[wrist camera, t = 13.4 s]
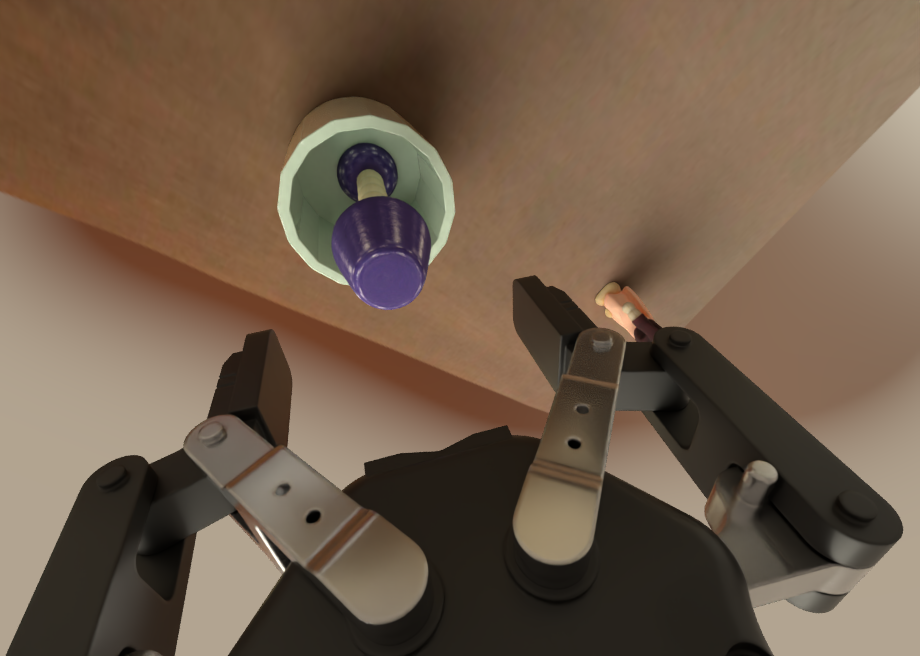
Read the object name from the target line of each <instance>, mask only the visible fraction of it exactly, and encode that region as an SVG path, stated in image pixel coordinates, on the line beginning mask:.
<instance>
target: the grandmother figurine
mask: <svg viewBox="0 0 920 656" xmlns="http://www.w3.org/2000/svg"><path fill="white" fill-rule="evenodd" d="M595 301H596V303H597V304H598V305H601V306H604V305H605V307H606V310H605V314H606V316H607V317H610V318H612V317H613V319H614V320H615V321H616V322H617V323H619V324H620V325H621V326H623V327H624V328H625V329H626V330H627V331H628V332H629V333H630V334H631V335H632V336H633V337H634V338H635V340H636V341H637V342H653V337H654V334H655V332H656V331H658V330H659V329H662V327H661V326H659V325H658V324H657V323H656V322H655V321H654V319H653V317H652V315H651V314H650V312H649V311H648V309H647V308H646V306H645V305H644V304H643V302H642V301H641V299H640V298H639V297H638V296H637V295H636V293H635V292H634V291H633V290H632V289H631V288H630V287H628V286H626V287H624V288H623V290H622V291H621V289H620V286H619V285H618V284H617V283H615V282H611V283H609V284H607V285H606V286H605V287H604V288H603V289H602V290H601V291H600V292H599V294H598V295H597V296H596V298H595Z"/></svg>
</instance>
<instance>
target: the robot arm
mask: <svg viewBox="0 0 920 656" xmlns="http://www.w3.org/2000/svg"><path fill="white" fill-rule="evenodd" d="M513 321H514V326H515V329H516V332H517V334H518V335H519V337H520V338H521V340H522V342H523V343H524V345H525V346H526V348H527V349H528V351H529V352H530V354H531V355H532V357H533V359H534V360H535V362H536V363H537V365H538V366H539V368H540V369H541V371H542V372H543V374H544V375H545V377H546V379H547V380H548V382H549V383H550V385H551V386H552V388H553V389H554V391H555V392H556V394H555V397H554V401H553V404H552V407H551V410H550V413H549V416H548V419H547V422H546V425H545V428H544V432H543V435H542V438H541V439H538V438H534V437H529V436H518V435H511V433H510V431H509V429H508V426H507V425H506V426H502V427H498V428H495V429H491V430H487V431H484V432H480V433H476V434H472V435H471V436H469V437H467V438H465V439H463V440H461V441H459V442H457V443H455V444H453V445H451V446H449V447H447V448H445V449H443V450H441V451H435V452H417V453H400V454H396V455H393V456H388V457H385V458H381V459H378V460H374V461H370V462H366V463H364V466H365V475H364V476H362V477H360V478H358V479H357V480H355V481H354V482H352V483H351V484H349V485H348V486H347V487H345V489H343V490H342V491H341V490H340V489H339V488H337V487H336V486H335V485H334V484H332V483H331V482H330V481H329V480H327V479H326V478H325V477H324V476H322V475H321V474H320V473H318V472H317V471H316V470H315V469H313V468H312V467H311V466H310V465H308V464H307V463H306V462H305V461H303V460H302V459H301V458H299V457H298V456H297V455H296V454H294V453H293V452H292V451H291V450H289V449H288V448H287V444H288V432H289V420H290V408H291V395H292V377H291V372H290V368H289V366H288V363H287V361H286V358H285V356H284V353H283V351H282V348H281V346H280V343H279V341H278V339H277V336H276V334H275V332H274V331H273V330H272V329H270V330H265V331H261V332H256V333H251V334H248V335H247V336H246V339H245V343H244V347H243V351H241V352H237V353H233V354H232V355H231V356H230V357H229V358H228V360H227V361H226V362H225V363H224V365H223V367H222V369H221V373H220V376H219V377H220V379H219V380H218V383H217V389H216V390H215V393H214V397H213V400H212V404H211V407H210V410H209V414H208V417H207V420H205V421H203V422H202V423H200V424H199V425H197V426H196V427H195V428H194V429H192V430H191V432H190V433H189V434H188V435H187V437H186V439H185V441H184V445H183V446H184V447H183V448H182V449H180V450H179V451H177V452H175V453H173V454H170V455H168V456H166V457H164V458H162V459H160V460H157V461H155V462H153V463H151V464H148V462H147V461H146V460H145V459H144V458H143V457H141V456H138V455H130V456H124V457H121V458H118V459H115V460H113V461H111V462H109V463H107V464H106V465H104V466H102V467H101V468H99V469H98V470H97V471H95V472H94V473H93V474H92V475H91V476H90V477H89V478H88V479H87V481H86V482H85V483H84V484H83V486H82V488H81V490H80V492H79V494H78V497H77V499H76V501H75V503H74V505H73V508H72V510H71V512H70V514H69V516H68V519H67V521H66V523H65V525H64V528H63V530H62V532H61V534H60V537H59V539H58V541H57V543H56V545H55V548H54V550H53V552H52V554H51V557H50V559H49V561H48V563H47V565H46V568H45V570H44V572H43V574H42V576H41V578H40V581H39V583H38V585H37V587H36V590H35V592H34V594H33V596H32V598H31V601H30V603H29V605H28V607H27V610H26V612H25V614H24V616H23V618H22V621H21V623H20V625H19V627H18V630H17V632H16V634H15V636H14V638H13V641H12V643H11V645H10V647H9V649H8V652H7V654H6V656H175V651H176V645H177V640H178V634H179V628H180V623H181V617H182V612H183V606H184V601H185V595H186V590H187V584H188V578H189V573H190V567H191V562H192V556H193V550H194V545H195V539H196V533H197V532H198V531H199V530H201V529H203V528H205V527H207V526H209V525H210V524H212V523H214V522H216V521H218V520H219V519H221V518H223V517H225V516H227V515H229V516H230V517H231V518H232V519H233V520H234V521H235V522H236V523H237V524H238V525H239V526H240V527H241V528H242V529H243V531H244V532H245V533H246V534H247V535H248V536H249V537H250V538H251V539H252V540H253V541H254V542H255V543H256V545H258V547H259V548H260V549H261V550H262V551H263V552H264V553H265V554H266V555H267V556H268V558H269V559H270V560H271V561H272V563H273V564H274V565H275V567H276V568H277V569H278V570H279V571H280V573H281V574H282V576H281V577H280V579H279V580H278V582H277V583H276V585H275V586H274V588H273V589H272V591H271V592H270V594H269V595H268V597H267V598H266V600H265V601H264V603H263V604H262V606H261V607H260V609H259V611H258V612H257V613H256V615H255V616H254V618H253V619H252V621H251V622H250V624H249V625H248V627H247V628H246V630H245V631H244V632H243V634H242V635H241V637H240V638H239V640H238V641H237V643H236V644H235V646H234V647H233V649H232V650H231V652H230V653H229V655H228V656H774V655H773V654H772V652H771V650H770V648H769V646H768V644H767V642H766V640H765V638H764V636H763V634H762V631H761V629H760V627H759V624H758V622H757V619H756V616H755V613H754V610H753V608H756V607H759V606H763V605H766V604H770V603H773V602H777V601H780V600H784V599H785V600H787V601H788V602H789V603H791V604H793V605H794V606H796V607H798V608H800V609H803V610H805V611H809V612H813V613H825V612H829V611H831V610H832V609H834V607H835V606H836V605H837V604H838V603H839V602H840V601H841V600H842V599H843V598H844V597H845V596H846V595H847V594H848V592H850V590H851V589H852V588H853V587H854V586H855V585H856V584H857V583H858V582H859V581H860V580H861V579H862V578H863V577H864V576H865V575H866V574H867V573H868V572H869V571H870V569H872V567H873V566H874V565H875V564H876V563H877V562H878V561H879V560H880V559H881V558H882V557H883V556H884V555H885V554H886V553H887V552H888V551H889V550H890V548H892V546H893V545H894V544H895V543H896V542H897V541H898V540H899V539H900V538H901V536H902V534H903V526H902V522H901V520H900V517H899V516H898V514H897V513H896V511H895V510H894V509H893V508H892V506H891V505H890V504H889V503H887V501H886V500H884V499H883V498H882V497H881V496H880V495H879V494H877V492H875V491H874V490H873V489H872V488H871V487H870V486H869V485H868V484H866V483H865V482H864V481H863V480H862V479H861V478H860V477H858V476H857V475H856V474H855V473H854V472H853V471H852V470H851V469H850V468H848V467H847V466H846V465H845V464H844V463H843V462H842V461H841V460H839V459H838V458H837V457H836V456H835V455H834V454H833V453H832V452H831V451H829V450H828V449H827V448H826V447H825V446H824V445H823V444H821V443H820V442H819V441H818V440H817V439H816V438H815V437H814V436H812V435H811V434H810V433H809V432H808V431H807V430H806V429H805V428H804V427H802V426H801V425H800V424H799V423H798V422H797V421H796V420H795V419H794V418H792V417H791V416H790V415H789V414H788V413H787V412H786V411H784V410H783V409H782V408H781V407H780V406H779V405H778V404H777V403H776V402H774V401H773V400H772V399H771V398H770V397H769V396H768V395H767V394H765V393H764V392H763V391H762V390H761V389H760V388H759V387H758V386H756V385H755V384H754V383H753V382H752V381H751V380H750V379H748V378H747V377H746V376H745V375H744V374H743V373H742V372H741V371H739V370H738V369H737V368H736V367H735V366H734V365H733V364H732V363H731V362H730V361H728V360H727V359H726V358H725V357H724V356H723V355H722V354H721V353H719V352H718V351H717V350H716V349H715V348H714V347H713V346H712V345H710V344H709V343H708V342H707V341H706V340H705V339H704V338H702V337H701V336H700V335H699V334H697V333H695V332H694V331H692V330H689V329H686V328H681V327H665V328H662V329H659V330H658V331H656V332H655V334H654V337H653V342H626V341H625V339H624V338H623V337H622V336H621V335H620V334H619V333H617V332H615V331H613V330H610V329H606V328H598V327H597V326H596V325H595V324H594V323H593V322H592V321H591V320H590V319H589V318H588V317H587V316H586V314H585V313H584V312H583V311H582V310H581V309H580V308H578V306H577V305H576V304H575V303H574V302H572V299H571V298H570V297H569V296H568V295H567V294H566V293H565V292H564V291H562V290H560V289H558V288H556V287H553V286H549V287H546V286H545V285H544V284H543V283H542V282H541V281H540V279H539V278H538V277H537V276H535V275H534V276H529V277H524V278H519V279H515V280H514V281H513ZM615 411H642V413H643V414H644V415H645V417H646V418H647V419H648V421H649V422H650V423H651V425H652V426H653V427H654V428H655V430H656V431H657V433H658V434H659V435H660V437H661V438H662V439H663V441H664V442H665V443H666V445H667V446H668V447H669V449H670V450H671V451H672V453H673V454H674V456H675V457H676V458H677V460H678V461H679V462H680V463H681V465H682V466H683V468H684V469H685V470H686V472H687V473H688V474H689V475H690V477H691V478H692V479H693V481H694V482H695V484H696V485H697V486H698V488H699V489H700V490H701V492H702V493H703V494H704V496H705V497H706V498H707V502H706V505H705V511H704V512H705V517H706V520H707V522H708V524H709V526H710V528H711V529H710V528H708V527H707V526H706V525H704V524H703V523H702V522H700V521H699V520H697V519H695V518H693V517H692V516H690V515H688V514H686V513H684V512H682V511H680V510H679V509H677V508H675V507H673V506H671V505H669V504H667V503H665V502H663V501H661V500H659V499H657V498H655V497H654V496H652V495H650V494H648V493H646V492H644V491H642V490H640V489H638V488H636V487H634V486H633V485H631V484H628V483H627V482H625V481H623V480H621V479H619V478H617V477H615V476H613V475H611V474H610V473H607V472H606V471H605V467H606V461H607V456H608V449H609V444H610V437H611V432H612V426H613V420H614V413H615Z"/></svg>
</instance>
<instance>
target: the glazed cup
mask: <svg viewBox="0 0 920 656" xmlns="http://www.w3.org/2000/svg"><path fill="white" fill-rule="evenodd" d="M358 143H372V144H375V145H377V146H379V147H382V148H383V149H385V150H386V151H387V152H388V153H389V154H390V155H391V156H392V158H393V159H394V161H395V164H396V167H397V173H398V179H397V185H396V187H395V189H394V191H393V193H392V194H391V195H390V196H389V197H392V198H397V199H400V200H402V201H405V202H406V203H408V204H409V205H411V206H412V207H413V208H415V209H416V210H417V212H418V213H419V214H420V215H421V216H422V217H423V219H424V221H425V222H426V224H427V227H428V229H429V232H430V237H431V252H430V259H429V264H430V263H431V262H432V261H433V259H434V258H435V257H436V255H437V254H438V253H439V252H440V250H441V249H442V248H443V246H444V245H445V244H446V242H447V239H448V235H449V232H450V229H451V225H452V222H453V218H454V215H455V203H454V193H453V183H452V178H451V177H450V175H449V173H448V171H447V169H446V167H445V165H444V163H443V161H442V159H441V158H440V156H439V154H438V152H437V150H436V149H435V148H434V147H433V146H432V145H431V144H430V143H429V142H428V141H427V140H426V139H425V138H424V137H423V136H422V135H421V134H420V133H419V132H418V131H417V130H416V129H415V128H414V127H413V126H412V125H411V124H410V123H409V122H407V121H406V120H405V119H404V118H403V117H401V116H400V115H399V114H398V113H397V112H395V111H394V110H393V109H392V108H391V107H389V106H387V105H385V104H382V103H380V102H377V101H375V100H372V99H368V98H363V97H342V98H337V99H333V100H330V101H328V102H325V103H324V104H322V105H320V106H318V107H317V108H315V109H314V110H313V111H311V112H310V113H309V114H308V115H307V116H305V117H304V119H303V120H302V122H301V123H300V125H299V126H298V128H297V130H296V132H295V134H294V136H293V137H292V139H291V141H290V143H289V147H288V150H287V154H286V157H285V161H284V164H283V168H282V171H281V175H280V186H279V196H278V207H277V208H278V213H279V216H280V219H281V221H282V224H283V227H284V230H285V233H286V236H287V239H288V242H289V243H290V245H291V246H292V247H293V248H294V249H295V250H296V252H297V253H298V254H299V255H300V256H301V257H302V258H303V260H304V261H305V262H306V263H307V264H308V265H309V267H311V268H312V269H313V270H315V271H317V272H319V273H321V274H323V275H325V276H326V277H328V278H330V279H332V280H334V281H336V282H338V283H340V284H344V285H349V284H348V282H347V281H346V279H345V278H344V276H343V275H342V273H341V272H340V270H339V268H338V266H337V265H336V262H335V260H334V257H333V253H332V248H331V239H332V233H333V229H334V226H335V223H336V221H337V219H338V218H339V216H340V215H341V214H342V213H343V212H344V211H345V210H346V209H347V208H348V207H349V206H351V205H352V204H353V203H355V201H353V200H352V199H351V198H349V197H348V196H347V195H346V194H345V193H344V191H343V190H342V189H341V187H340V185H339V182H338V178H337V166H338V162H339V159H340V157H341V156H342V154H343V153H344V152H345V151H346V150H347V149H348V148H350V147H351V146H353V145H356V144H358ZM428 266H429V265H428Z"/></svg>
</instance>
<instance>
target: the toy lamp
mask: <svg viewBox="0 0 920 656" xmlns="http://www.w3.org/2000/svg"><path fill="white" fill-rule="evenodd" d="M337 178H338V182H339V185H340V187H341V189H342V190H343V191H344V193H345V194H346V195H347V196H348V197H349V198H351V199H352V200H353V201H355V203H353V204H352V205H351V206H349V207H348V208H347V209H346V210H345V211H344V212H343V213H342V214H341V215H340V216H339V218H338V219H337V221H336V223H335V226H334V229H333V233H332V239H331V248H332V253H333V257H334V260H335V262H336V265H337V266H338V268H339V270H340V272H341V273H342V275H343V276H344V278H345V279H346V281H347V282H348V284H349V285H350V287H351V288H352V289H353V291H354V292H355V293H356V295H357V296H358V297H359V298H360V299H361V300H362V301H364V302H365V303H366V304H368V305H370V306H372V307H375V308H378V309H383V310H392V309H397V308H401V307H403V306H405V305H407V304H409V303H411V302H412V301H413V300H414V299H415V298H416V297H417V296H418V295H419V293H420V292H421V290H422V288H423V285H424V283H425V280H426V275H427V270H428V265H429V259H430V252H431V237H430V232H429V229H428V227H427V224H426V222H425V221H424V219H423V217H422V216H421V215H420V214H419V213H418V212H417V210H416V209H415V208H413V207H412V206H411V205H409V204H408V203H406V202H405V201H402V200H400V199H397V198H392V197H389V196H390V195H391V194H392V193H393V191H394V189H395V187H396V185H397V179H398V173H397V167H396V164H395V161H394V159H393V158H392V156H391V155H390V154H389V153H388V152H387V151H386V150H385V149H383V148H382V147H379V146H377V145H375V144H372V143H358V144H356V145H353V146H351V147H350V148H348V149H347V150H346V151H345V152H344V153H343V154H342V156H341V157H340V159H339V162H338V166H337Z"/></svg>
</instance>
